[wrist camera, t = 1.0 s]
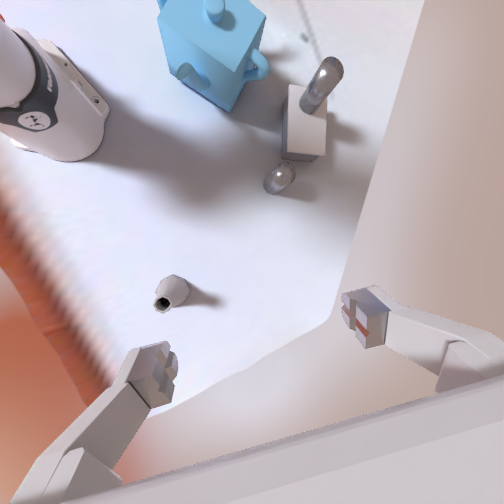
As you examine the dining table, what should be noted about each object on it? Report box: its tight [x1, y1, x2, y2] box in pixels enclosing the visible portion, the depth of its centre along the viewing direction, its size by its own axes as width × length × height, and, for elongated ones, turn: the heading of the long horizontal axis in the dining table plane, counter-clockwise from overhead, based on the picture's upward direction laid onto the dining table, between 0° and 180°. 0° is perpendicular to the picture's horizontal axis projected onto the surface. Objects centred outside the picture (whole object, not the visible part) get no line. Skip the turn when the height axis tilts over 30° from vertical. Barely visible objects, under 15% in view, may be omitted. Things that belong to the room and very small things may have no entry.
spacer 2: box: [299, 57, 344, 115], centre depth 40 cm, size 4×4×9 cm
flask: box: [153, 275, 190, 313], centre depth 41 cm, size 7×7×10 cm
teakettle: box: [157, 0, 270, 113], centre depth 38 cm, size 19×19×15 cm
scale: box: [281, 84, 327, 162], centre depth 47 cm, size 14×9×6 cm, turn 179°
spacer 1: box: [264, 162, 296, 194], centre depth 45 cm, size 4×4×9 cm
